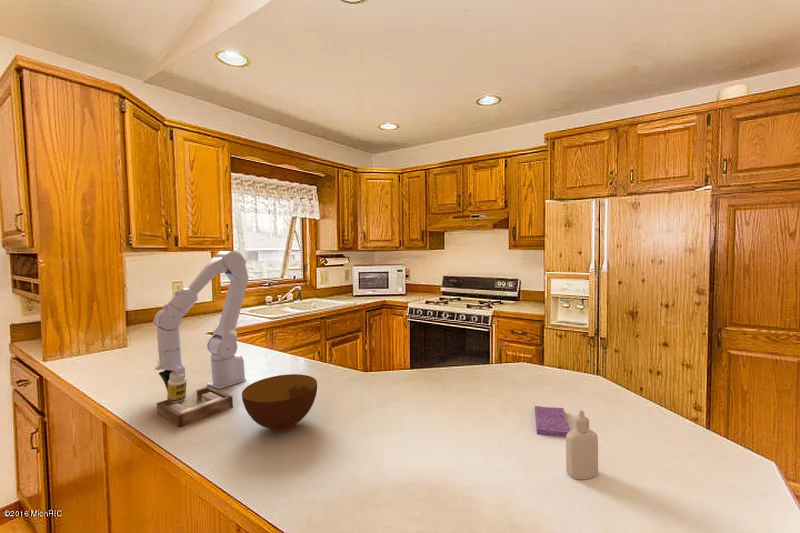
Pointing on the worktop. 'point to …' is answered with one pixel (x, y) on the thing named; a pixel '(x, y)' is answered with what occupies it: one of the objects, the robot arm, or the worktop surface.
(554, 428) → the sponges
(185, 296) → the robot arm
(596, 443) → the eye dropper bottle
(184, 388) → the supplement bottle
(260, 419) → the bowl
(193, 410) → the socket box
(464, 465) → the worktop surface
